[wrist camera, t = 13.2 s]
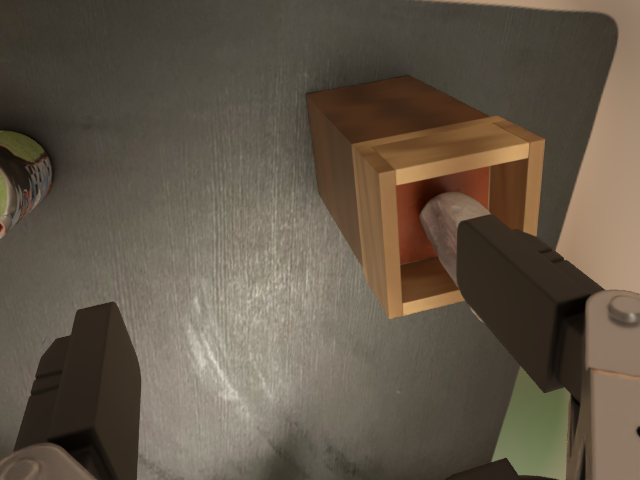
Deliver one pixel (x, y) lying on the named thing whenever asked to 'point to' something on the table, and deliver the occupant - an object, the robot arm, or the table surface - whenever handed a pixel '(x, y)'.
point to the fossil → (448, 225)
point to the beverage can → (21, 178)
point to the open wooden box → (427, 182)
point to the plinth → (369, 134)
